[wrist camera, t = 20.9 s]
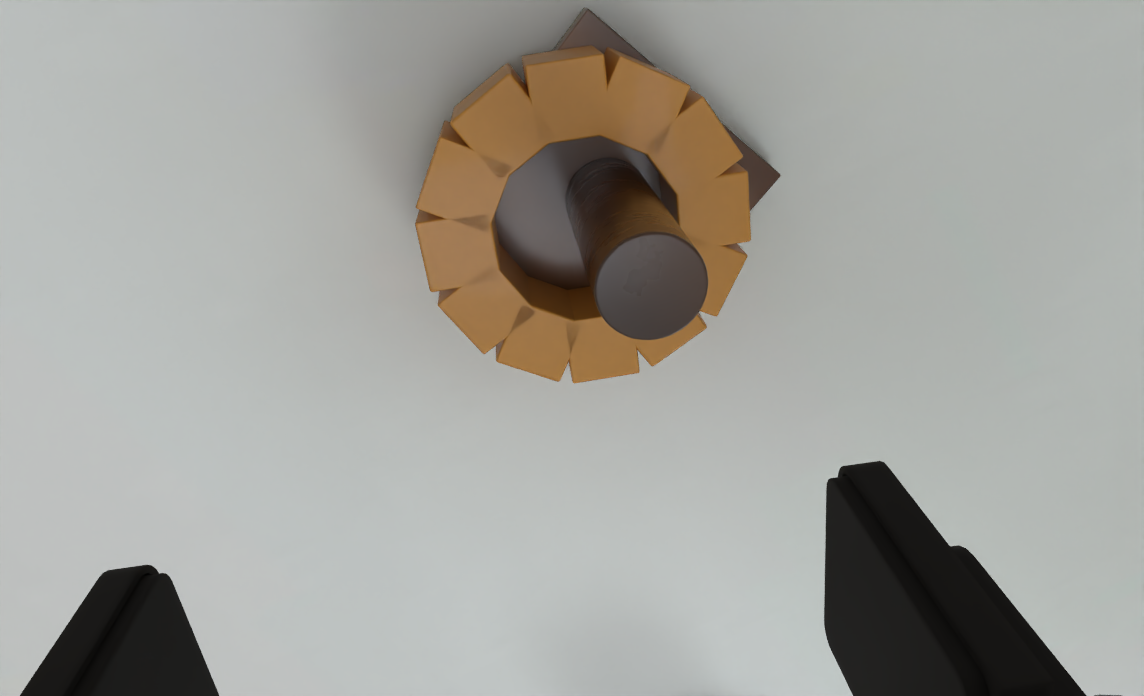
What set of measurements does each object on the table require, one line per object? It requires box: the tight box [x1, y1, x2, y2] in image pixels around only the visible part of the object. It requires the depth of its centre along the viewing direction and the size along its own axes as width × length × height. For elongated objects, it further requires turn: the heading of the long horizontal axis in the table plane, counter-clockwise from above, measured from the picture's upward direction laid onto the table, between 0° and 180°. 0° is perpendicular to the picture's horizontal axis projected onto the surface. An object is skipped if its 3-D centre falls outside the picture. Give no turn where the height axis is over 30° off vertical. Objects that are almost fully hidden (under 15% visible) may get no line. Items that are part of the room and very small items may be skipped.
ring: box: [415, 45, 751, 383], centre depth 28 cm, size 11×11×3 cm
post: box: [494, 8, 781, 340], centre depth 26 cm, size 9×9×10 cm
